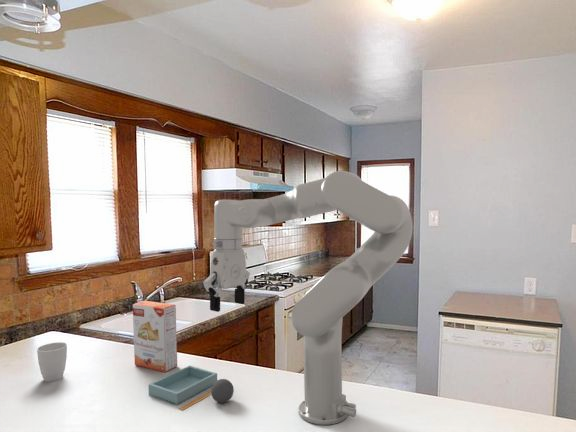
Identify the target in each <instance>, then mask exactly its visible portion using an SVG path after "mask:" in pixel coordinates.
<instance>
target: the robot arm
mask: <svg viewBox="0 0 576 432" xmlns="http://www.w3.org/2000/svg"><path fill="white" fill-rule="evenodd" d="M213 210H214V213H213V214H214V221H213V222H214V224H213V225H214V228H213V229H214V233H213V235H214V236H213V237H214V239H213V243H212V247H213V251H212V256H211V260H210V261H211V262H210V273H209V276H208V277H207V278H206V279H205V280H203V282H202V284H203V287H204V288H205V292H207V295H208V296H209V310H210V311H212V312H217V313H218V312H221V296H219V295H220V294H221V292H222V290H227V289H231V288H235V289H234V303H235V304H238V305H239V304H240V305H245V299H246V298H245V294H246V293H245V292H246V291H245V290H247V284H248V283H249V279H250V276H251V272H250V271H247V263H246V262H247V261H246V255H245V250H244V248H243V228H245V229H254V228H260V227H268V226H271V225H276V224H280V223H284V222H288V221H291V220H292V221H294V220H296V219H297V220H298V219H306V218H310V217H314V216H318V215H322V214H327V213H331V212H335V211H339V213H341V214H343V215H345V216H346V217H348V218H350V219H351V220H353V221H355V222H357V223H359V224H360V225H362V226H363V227H366V228H367V229H369V230H370V231H373V233H372V235H371V236H370V237H369V238H368V239H367V240H366V241H365V242H363V243H362V245H361V246H360V247H358V249H357V250H356V251H354V253H353V254H351V255H350V256H349V257H348V258H347V259H345V260H344V261H342V262H340V263H339V264H337V265H335V266H334V267H332V268H331V269H330V270H329V271H327V272H326V273H325V274H324V275H323V276H322V277H321V278H320V279H319V280H318V281H317V282H316V283H315V284H313V286H311V288H310V289H308V290H307V292H305V294H304V295H303V296H301V297H300V298H299V299H298V300H297V301H296V302H295V303H294V305H293V308H292V309H291V310H292V311H291V322H292V326H293V328H294V329H295V331H296V332H297V333H298V334H300V335H301V336H303V372H304V373H303V379H304V380H303V381H304V382H303V383H304V386H303V388H304V390H303V391H304V400H303V401H302V402H300V404H299V406H298V414H299V416H300V417H301V418H302V419H303V420H304V421H306V422H308V423H311V424H314V425H315V424H316V425H322V426H327V425H334V424H338V423H340V422H343V421H344V420H346V419H347V417H348V416H349V417H352V418H355V417H356V416H357V409H356V407H357V404H355V403H352V402H351V403H350V402H348V401H347V395H346V394H343V369H342V367H343V366H342V360H343V359H342V357H343V356H342V352H343V351H342V334H343V333H342V330H343V317H345V316H346V314H348V313H349V312H350V311H351V310H352V309H353V308H354V307H355V306H357V304H359V303H360V302H361V301H362V300H363V298H364V297H365V296H366V295H367V293H368V291H369V290H370V289H371V288H372V286H373V285H374V284H375V283H377V281H379V280H380V279H381V278H382V277H383V276H384V275H385V274H386V273H387V272H388V271H389V270H391V268H392V267H393V266H394V265H395V264H396V263H397V262H398V261H399V260H400V259H401V257H403V255H404V253H406V250H407V249H408V247H409V244H410V243H411V239H412V236H413V235H412V234H413V227H414V225H413V220H412V215H411V212H410V209H409V207H408V205H407V204H406V202H405V201H404V200H403V199H401V197H398V196H396V195H389V194H388V193H385V192H384V191H382V190H379V189H377V188H376V187H374V186H372V185H371V184H369V183H367V182H366V181H363V180H362V178H361V177H360V176H359V175H358V174H356V173H353V172H350V171H346V170H337V171H332V172H331V173H329V174H328V175H327V176H326V177H323V178H320V179H316V180H312V181H308V182H304V183H300V184H298V185H296V186H294V188H293V189H292V190H290V191H289V192H286V193H283V194H280V195H275V196H272V197H268V198H264V199H263V198H261V199H260V198H253V199H251V198H250V199H242V200H239V199H238V200H237V199H218V200H216V201H215V203H214V209H213Z"/></svg>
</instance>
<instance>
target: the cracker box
mask: <svg viewBox="0 0 576 432" xmlns="http://www.w3.org/2000/svg"><path fill="white" fill-rule="evenodd" d="M132 323H133V329H132V330H133V348H134V349H133V352H134V356H133V357H134V366H139V367H142V368H147V369H151V370H155V371H159V372H163V373H166V372H170V371H171V370H172V369H174V368H177V367H178V343H177V308H176V304H172V303H165V302H157V301H149V300H143V301H138V302H134V304H133V303H132Z"/></svg>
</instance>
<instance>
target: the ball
mask: <svg viewBox="0 0 576 432" xmlns="http://www.w3.org/2000/svg"><path fill="white" fill-rule="evenodd" d="M234 389H235V388H234V385H233V384H232V382H231V381H230V380H228V379H227V378H220V379H217V381H216V382H215V383H214V384H213V386H212V387H211V390H210V391H211V396H212V399H213V400H214V401H215V402H216V403H219V404H224V403H227V402H229V401H230V400H231V399H232V397H233V396H234V392H235V390H234Z"/></svg>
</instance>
